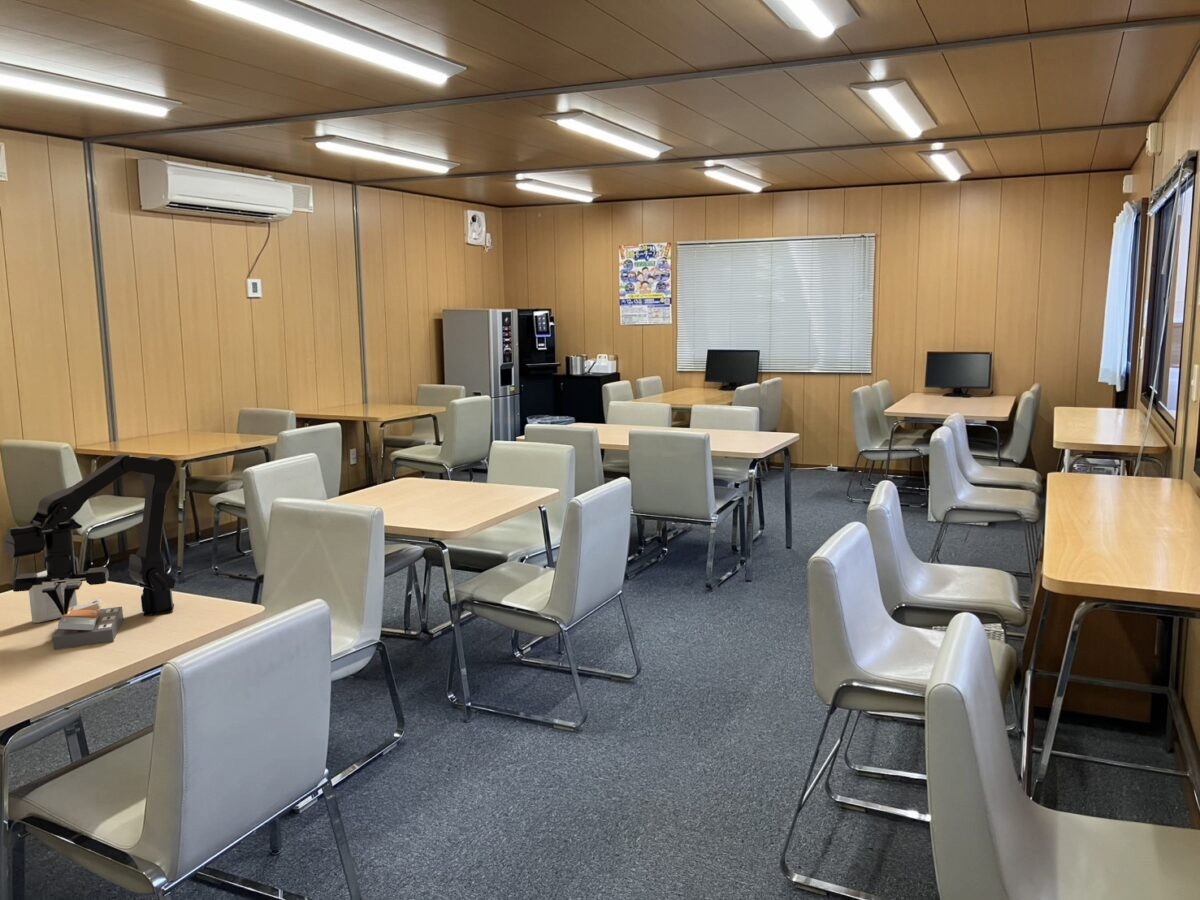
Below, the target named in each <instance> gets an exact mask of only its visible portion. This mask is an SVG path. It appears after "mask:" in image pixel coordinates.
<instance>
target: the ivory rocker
mask: <svg viewBox="0 0 1200 900" xmlns="http://www.w3.org/2000/svg"><path fill="white" fill-rule="evenodd" d="M102 606H103V601H102V598H100V597H99V598H96V599H93V600H90V601H86V602H83V603H80V604H78V605H76V606H73V607H70V608H69V610H98V609H101V607H102Z"/></svg>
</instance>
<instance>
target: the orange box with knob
mask: <svg viewBox="0 0 1200 900" xmlns="http://www.w3.org/2000/svg"><path fill="white" fill-rule="evenodd" d="M99 615H100V610H98V609H97V610H68V613H67V614H65V613H64V615H63V617H79V618H96V621H97V619H98V617H99Z"/></svg>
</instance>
